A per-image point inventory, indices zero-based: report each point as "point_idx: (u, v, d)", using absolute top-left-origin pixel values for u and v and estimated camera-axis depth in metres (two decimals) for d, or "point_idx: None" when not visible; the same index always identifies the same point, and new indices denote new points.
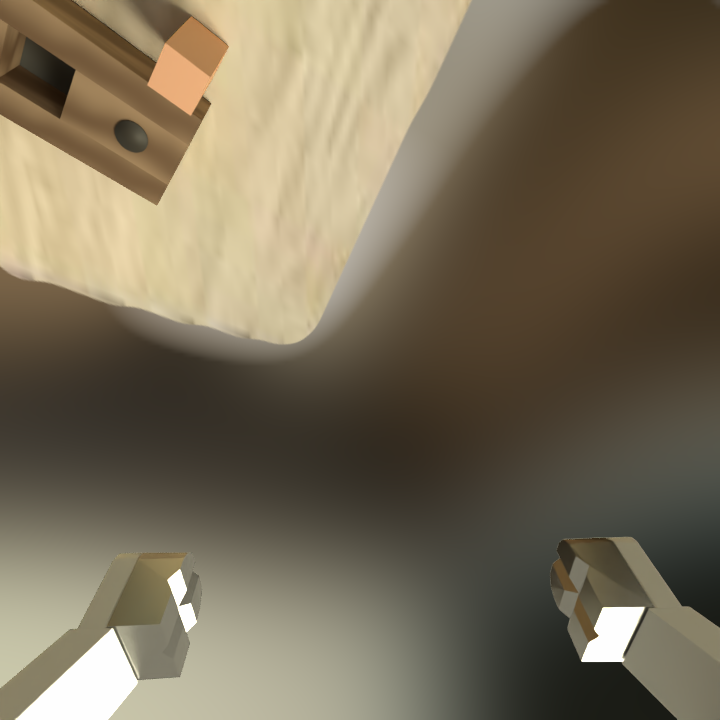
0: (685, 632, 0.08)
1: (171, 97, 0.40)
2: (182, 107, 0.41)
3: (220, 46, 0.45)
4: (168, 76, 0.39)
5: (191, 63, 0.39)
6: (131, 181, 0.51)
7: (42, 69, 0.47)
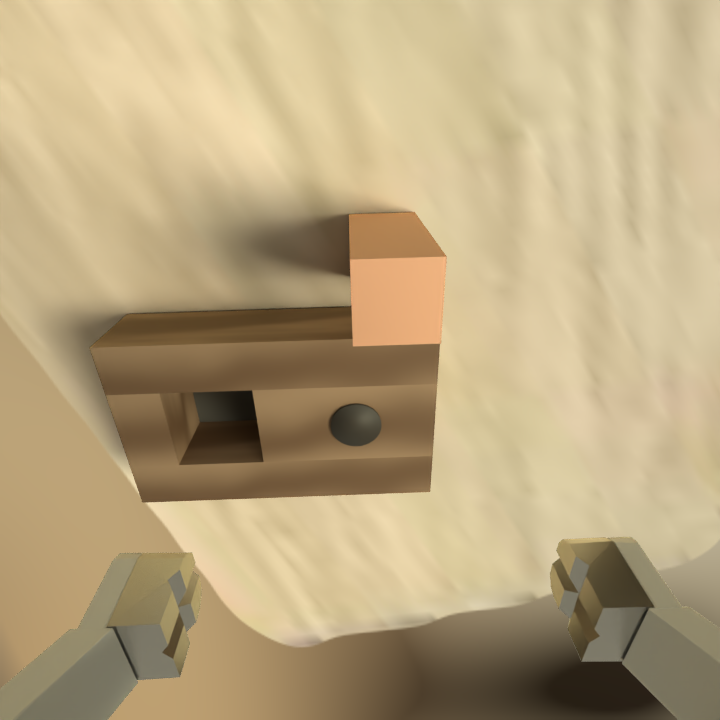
0: (685, 632, 0.08)
1: (397, 337, 0.20)
2: (421, 340, 0.20)
3: (407, 217, 0.26)
4: (377, 308, 0.20)
5: (405, 259, 0.19)
6: (382, 480, 0.31)
7: (222, 410, 0.34)
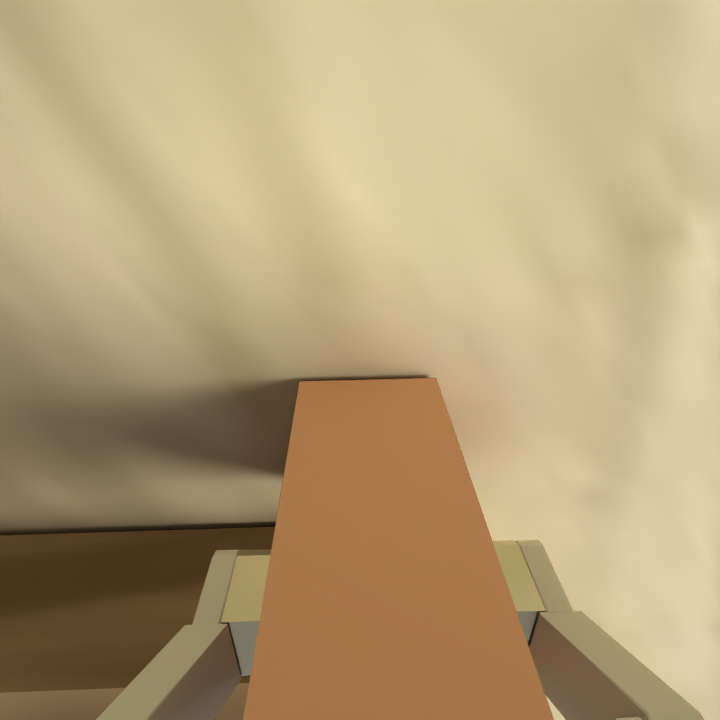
0: (570, 636, 0.08)
1: None
2: None
3: (423, 408, 0.12)
4: None
5: None
6: None
7: None
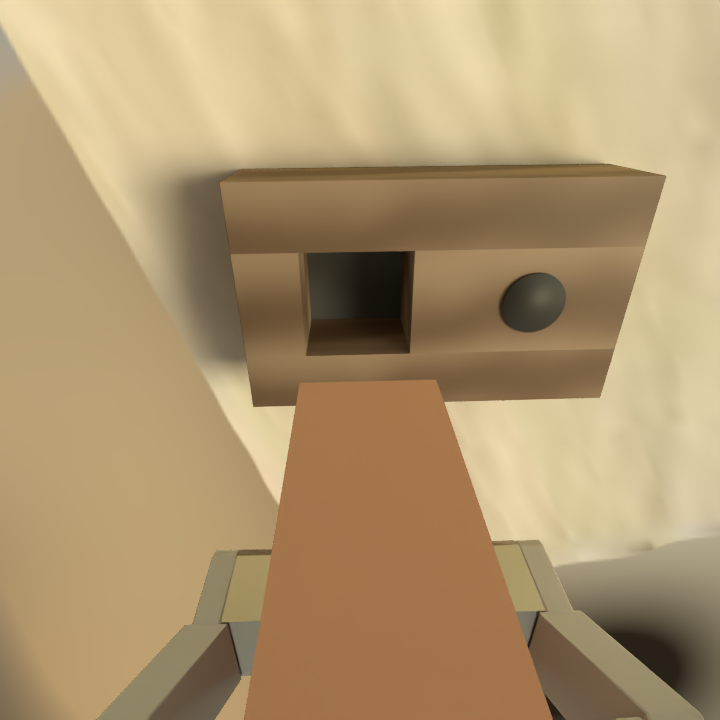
0: (571, 636, 0.08)
1: None
2: None
3: (423, 410, 0.12)
4: None
5: None
6: (547, 381, 0.26)
7: (341, 303, 0.28)
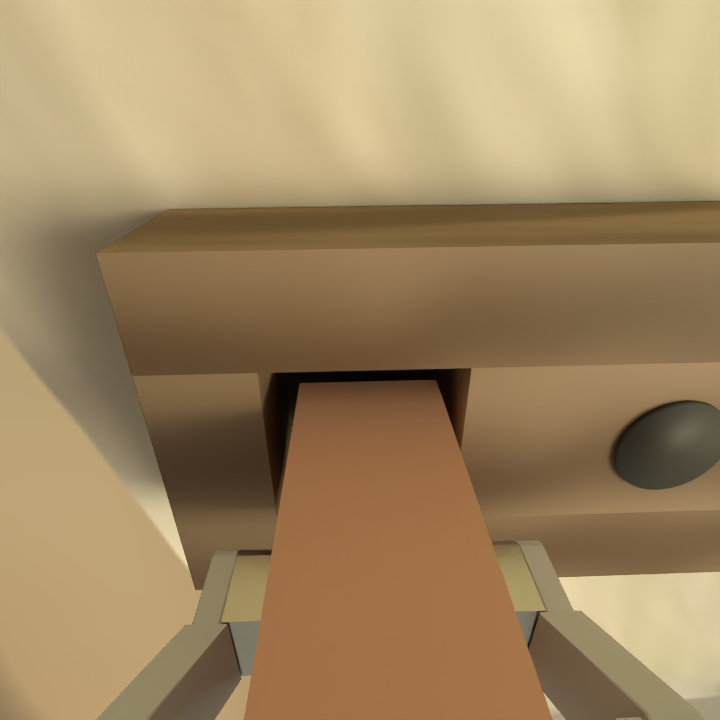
0: (570, 636, 0.08)
1: None
2: None
3: (423, 410, 0.12)
4: None
5: None
6: (672, 551, 0.16)
7: None
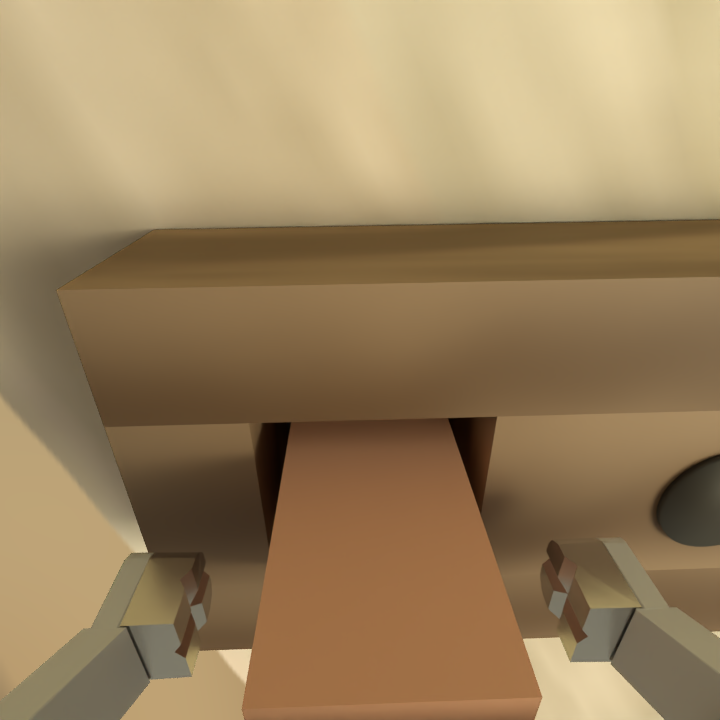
0: (672, 632, 0.08)
1: None
2: None
3: None
4: None
5: (415, 704, 0.06)
6: (715, 609, 0.14)
7: None
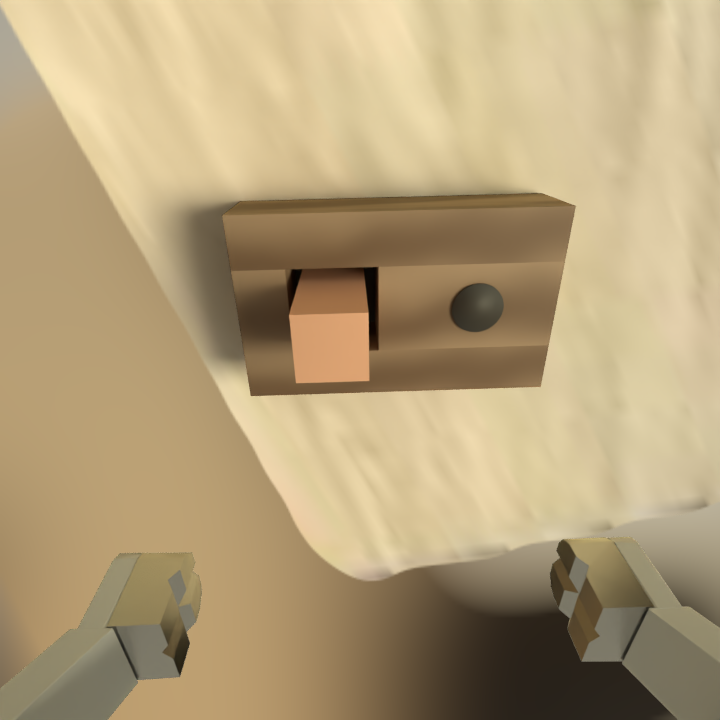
0: (685, 632, 0.08)
1: (332, 376, 0.24)
2: (353, 378, 0.25)
3: None
4: (314, 353, 0.24)
5: (334, 314, 0.23)
6: (494, 373, 0.31)
7: None
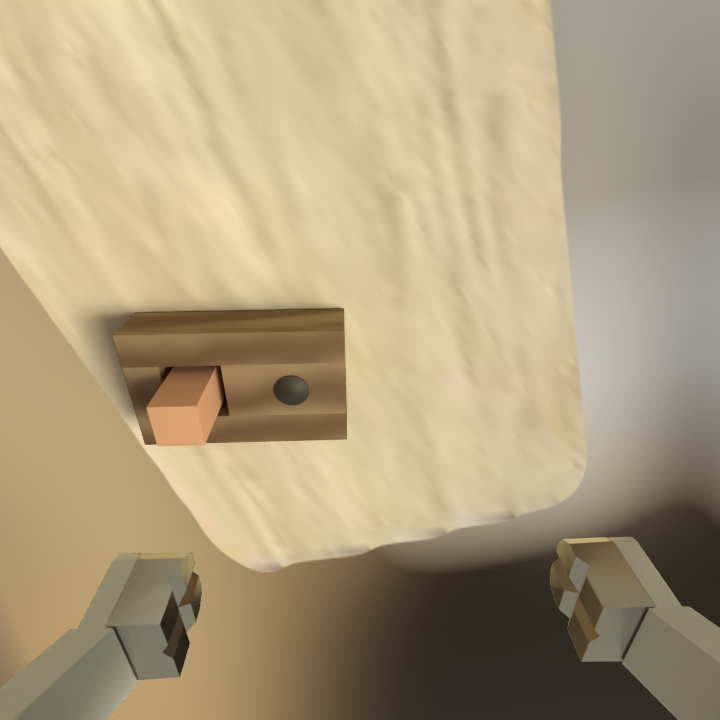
0: (685, 632, 0.08)
1: (180, 442, 0.38)
2: (194, 443, 0.38)
3: None
4: (166, 428, 0.38)
5: (175, 407, 0.37)
6: (313, 430, 0.45)
7: None
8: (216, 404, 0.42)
